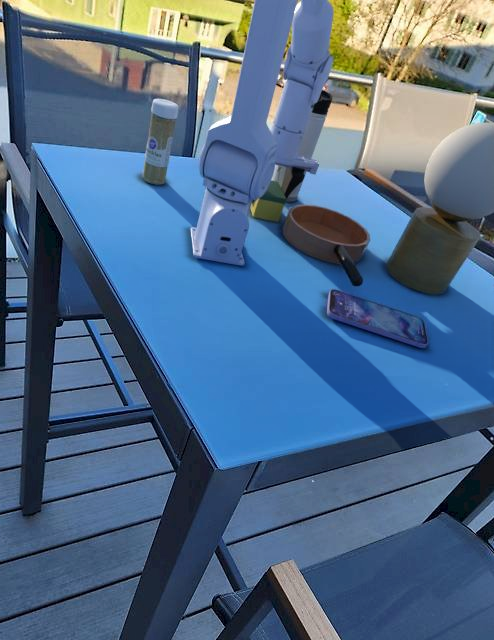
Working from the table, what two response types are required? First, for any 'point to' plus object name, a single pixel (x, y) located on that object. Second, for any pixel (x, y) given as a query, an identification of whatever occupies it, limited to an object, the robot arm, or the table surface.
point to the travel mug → (307, 139)
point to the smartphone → (377, 318)
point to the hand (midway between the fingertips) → (264, 203)
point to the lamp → (447, 211)
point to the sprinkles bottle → (159, 141)
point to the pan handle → (348, 265)
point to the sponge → (269, 203)
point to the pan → (324, 233)
